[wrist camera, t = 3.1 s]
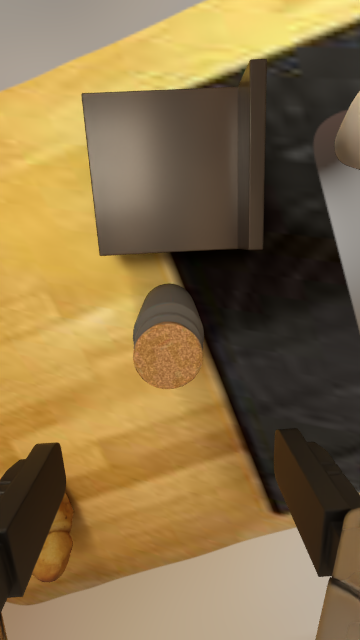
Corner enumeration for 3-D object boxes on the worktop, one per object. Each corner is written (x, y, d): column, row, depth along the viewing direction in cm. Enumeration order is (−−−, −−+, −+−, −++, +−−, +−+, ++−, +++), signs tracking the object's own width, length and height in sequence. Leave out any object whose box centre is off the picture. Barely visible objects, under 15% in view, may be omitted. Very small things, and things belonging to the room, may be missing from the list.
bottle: (148, 336, 36) (133, 403, 21) (138, 287, 34) (116, 322, 20) (197, 329, 36) (216, 390, 21) (190, 279, 34) (205, 309, 20)
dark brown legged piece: (110, 253, 33) (88, 258, 25) (95, 117, 30) (64, 66, 21) (238, 246, 34) (263, 249, 25) (238, 111, 30) (267, 58, 21)
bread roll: (-6, 539, 43) (-45, 605, 35) (-27, 481, 40) (-74, 539, 33) (86, 527, 43) (68, 591, 35) (71, 468, 40) (47, 523, 32)
